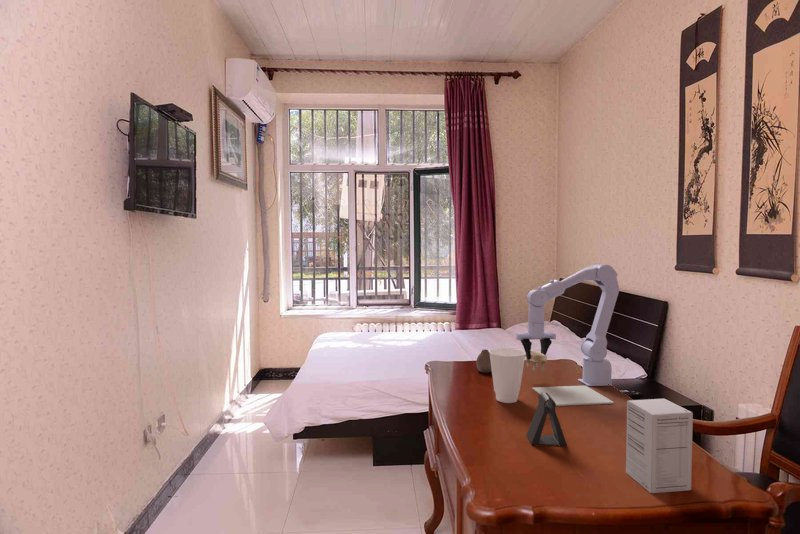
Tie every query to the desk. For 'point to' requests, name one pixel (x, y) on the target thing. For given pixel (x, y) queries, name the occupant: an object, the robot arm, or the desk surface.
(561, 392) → the mat
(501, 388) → the cup
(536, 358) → the tan plank with pegs
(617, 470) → the desk surface
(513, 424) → the desk surface
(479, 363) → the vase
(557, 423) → the phone stand
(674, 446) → the supplement box
